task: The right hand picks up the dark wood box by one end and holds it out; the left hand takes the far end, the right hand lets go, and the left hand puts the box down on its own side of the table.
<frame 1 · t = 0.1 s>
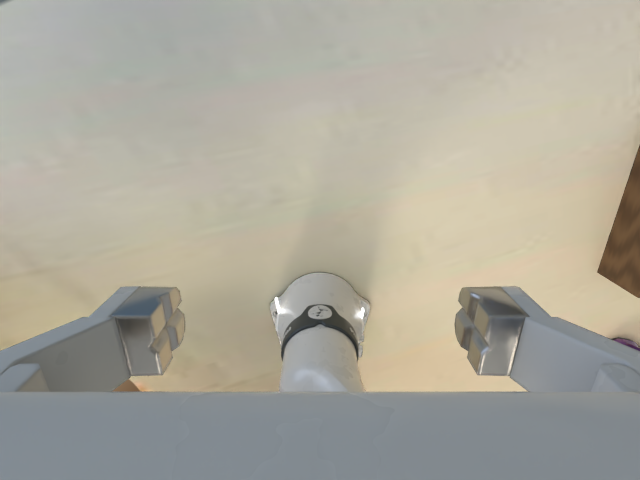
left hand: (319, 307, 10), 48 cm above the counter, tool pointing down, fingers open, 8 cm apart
box: (638, 202, 59), on the counter
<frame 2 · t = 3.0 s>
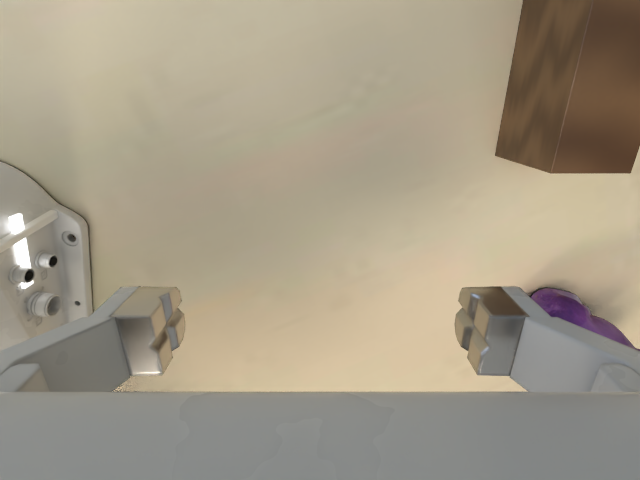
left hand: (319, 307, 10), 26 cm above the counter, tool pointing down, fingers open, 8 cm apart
figurine: (548, 313, 40), on the counter
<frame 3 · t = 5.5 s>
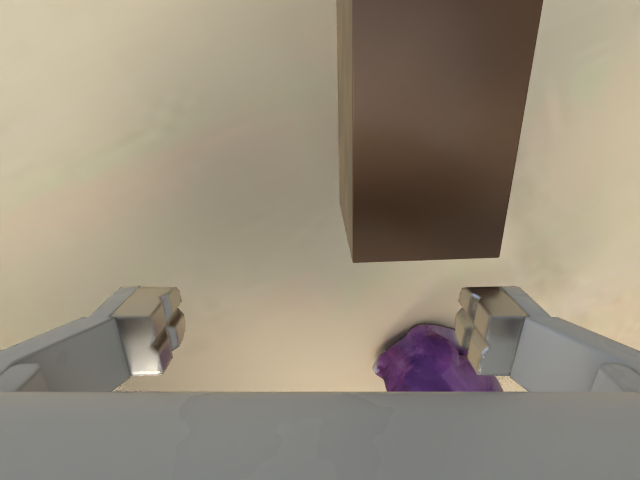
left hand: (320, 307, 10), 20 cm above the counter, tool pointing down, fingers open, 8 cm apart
figurine: (431, 351, 36), on the counter
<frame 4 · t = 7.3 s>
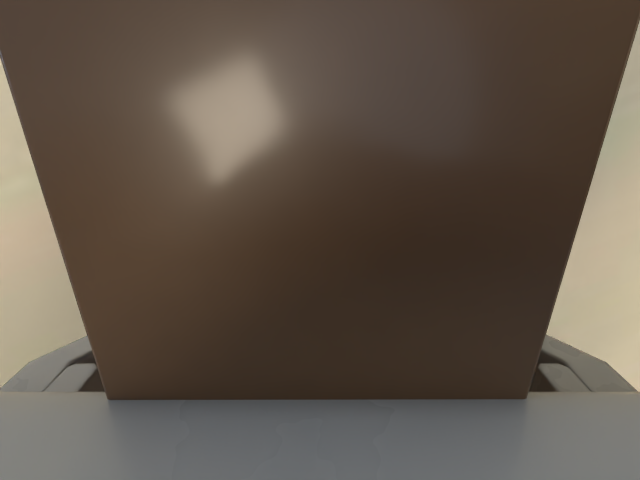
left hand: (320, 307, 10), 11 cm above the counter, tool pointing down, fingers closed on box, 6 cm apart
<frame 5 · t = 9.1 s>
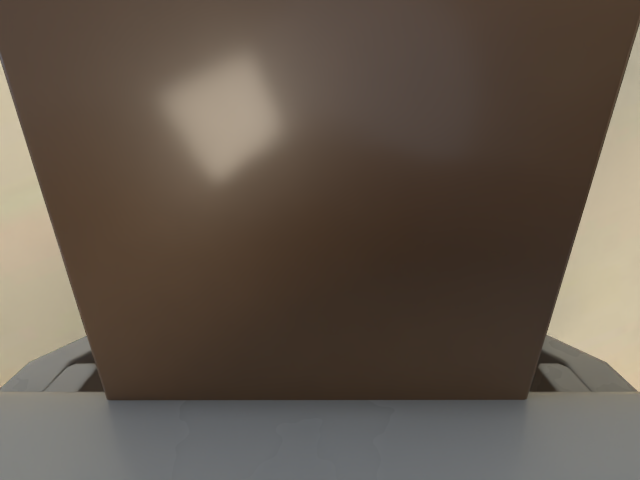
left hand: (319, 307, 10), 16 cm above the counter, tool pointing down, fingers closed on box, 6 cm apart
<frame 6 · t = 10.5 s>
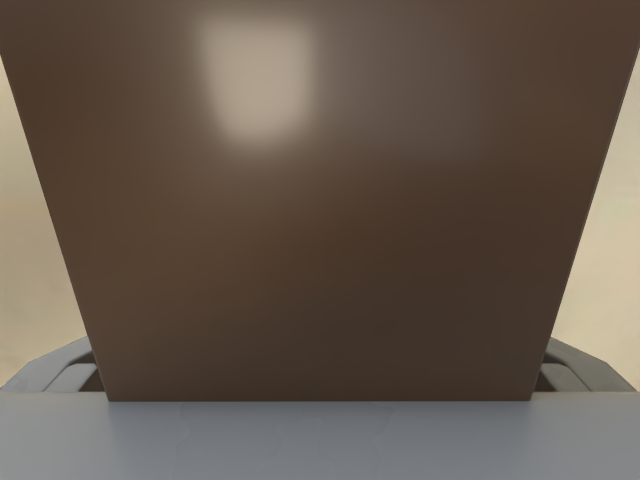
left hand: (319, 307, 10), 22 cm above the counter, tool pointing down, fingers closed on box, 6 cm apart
when the left hand's fingers open (4 cm above the counter, at t = 14.0 s): box stays where it is, on the counter.
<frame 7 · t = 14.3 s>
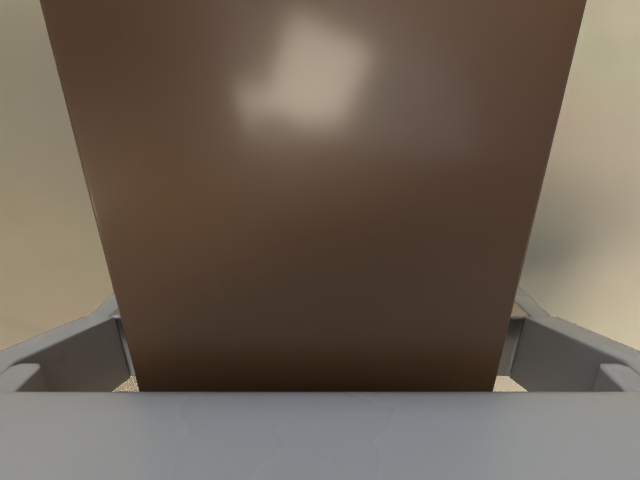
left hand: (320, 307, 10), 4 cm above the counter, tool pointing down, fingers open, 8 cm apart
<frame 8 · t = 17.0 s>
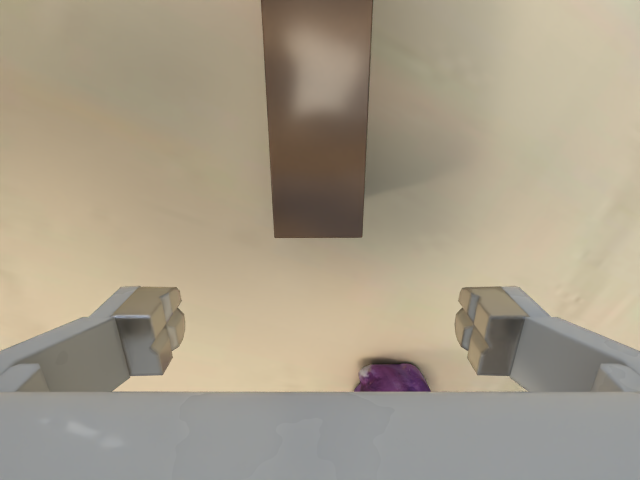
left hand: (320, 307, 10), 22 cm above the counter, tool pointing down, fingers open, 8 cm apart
box: (317, 34, 27), on the counter
figurine: (397, 388, 40), on the counter
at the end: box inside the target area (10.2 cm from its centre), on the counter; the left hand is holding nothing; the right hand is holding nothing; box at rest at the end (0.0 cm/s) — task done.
